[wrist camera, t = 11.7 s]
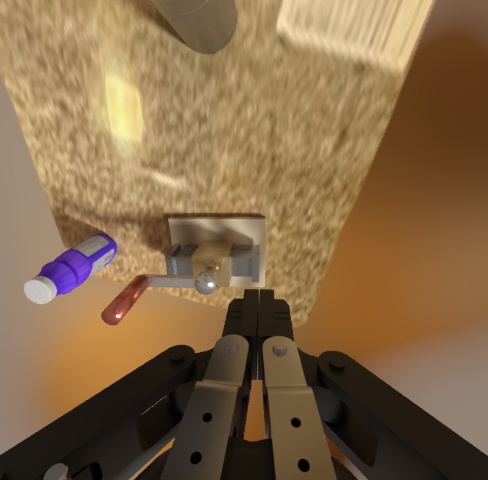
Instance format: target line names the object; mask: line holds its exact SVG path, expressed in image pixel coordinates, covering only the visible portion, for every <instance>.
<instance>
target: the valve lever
mask: <svg viewBox="0 0 488 480" xmlns="http://www.w3.org/2000/svg"><path fill="white" fill-rule="evenodd" d="M216 284H217V276H216V275H215V274H214V273H213V272H211V271H202V272H201V273H199V275H198V276H183V275H156V274H144V275H138V276H136V277H135V278H134V279H133V280H132V281H131V282H130V283H129V284H128V285H127V287H126V288H125V289H124V290H123V291H122V292H121V293H120V294H119V295H118V296H117V297H116V298H115V299H114V300H113V301H112V302H111V303H110V304H109V305H108V307H107V308H106V309H105V310H104V311H103V312H102V314H101V317H102V319H103V320H104V322H105V323H107V324H109V325H117V324H118V323H119V322H120V321H121V320H122V318H123V317H124V316H125V315H126V313H127V312H128V311H129V310H130V308H131V307H132V306H133V305H134V303H135V302H136V301H137V300H138V299H139V297H140V296H141V295H142V294H143V292H144V291H145V290H146V289H147V287H148V286H150V287H175V288H196V290H197V291H198V292H199V293H201V294H204V295H208V294H211V293H212V292H213V291H214V290H215V287H216Z"/></svg>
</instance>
